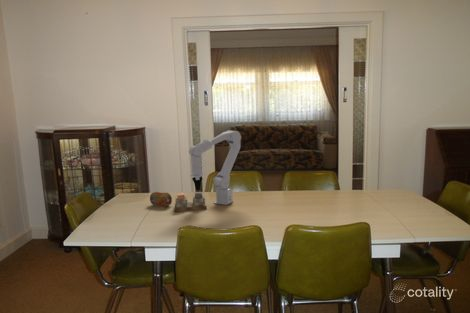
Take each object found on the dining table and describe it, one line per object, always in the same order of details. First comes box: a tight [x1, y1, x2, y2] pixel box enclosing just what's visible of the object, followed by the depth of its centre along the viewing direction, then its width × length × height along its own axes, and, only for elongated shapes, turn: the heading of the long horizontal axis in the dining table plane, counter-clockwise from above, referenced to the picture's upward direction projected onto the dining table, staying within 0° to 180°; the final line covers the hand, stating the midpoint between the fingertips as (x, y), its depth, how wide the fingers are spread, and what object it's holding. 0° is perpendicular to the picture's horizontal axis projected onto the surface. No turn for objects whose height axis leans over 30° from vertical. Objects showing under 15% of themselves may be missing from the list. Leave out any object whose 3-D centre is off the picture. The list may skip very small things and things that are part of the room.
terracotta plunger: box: [176, 192, 186, 200], centre depth 206 cm, size 4×4×4 cm
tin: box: [149, 191, 173, 208], centre depth 215 cm, size 15×3×8 cm, turn 62°
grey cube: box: [194, 191, 203, 199], centre depth 207 cm, size 4×4×4 cm
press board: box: [174, 194, 208, 213], centre depth 207 cm, size 18×10×6 cm, turn 98°
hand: (197, 189), depth 206 cm, fingers closed
